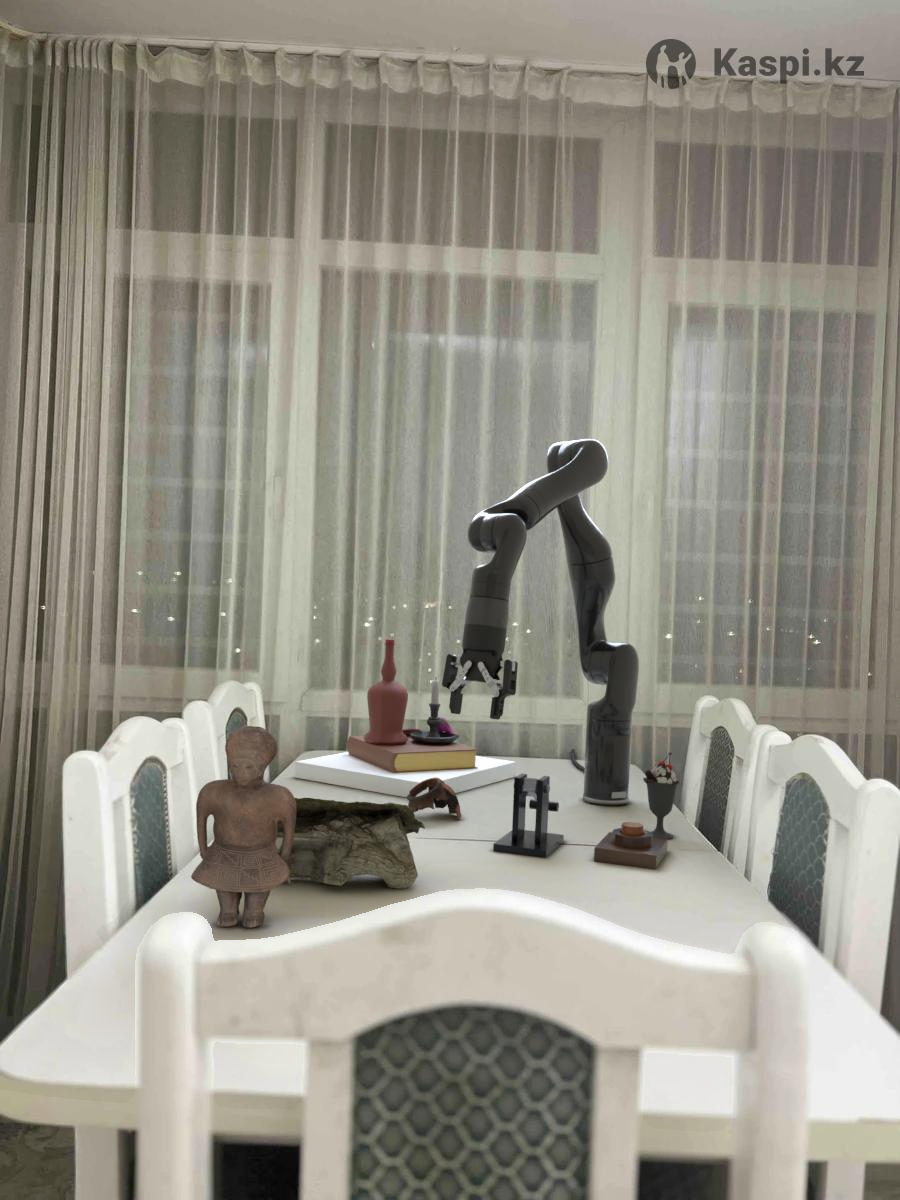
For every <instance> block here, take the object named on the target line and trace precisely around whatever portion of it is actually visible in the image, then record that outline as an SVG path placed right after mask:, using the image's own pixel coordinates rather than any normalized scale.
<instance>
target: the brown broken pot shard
mask: <svg viewBox="0 0 900 1200" xmlns="http://www.w3.org/2000/svg"><path fill="white" fill-rule="evenodd" d="M427 787H428V789H429V792H427V793H425V794H423V795H421V796H418V797H415V796H416V795H417V794H419V793H421V792H422V791H424V790H426V789H427ZM409 793H410V794H408V796H407V797H406V799H407V800H408V803H407V806H410V807H411V808H414V809H415V811H416V812H418V811H424V810H425V809H427V808H428V809H432V810H435V808H436V809H444V808H447V809H448V814H449V815H454V814H456V820H457V821H460V820H461V819H462V813H461V805H460V803H459V798H458V796H457V793H455V792H454V791H453V790H452V788H451V787H449V786H448V785H447V784H445V783H444V782H443V781H442V780H441V779H439V778H431V779H427V780H425V781H422V782H421V783H419V784H417V785H416V786H415V787H413V788H412V789H411V790H410V791H409Z"/></svg>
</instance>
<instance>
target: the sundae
mask: <svg viewBox="0 0 900 1200" xmlns="http://www.w3.org/2000/svg"><path fill="white" fill-rule="evenodd" d="M672 755H673V753H672V752H668V754H667V756H666V758H665V759H663V760H661V761H659V762H658V764H656V765H654V767H652V768H651V769H647V770H646V771H644V775H645V777H643V778H642V780H643V782H644V783H645V784H646V789H647V799H648V800H647V801H648V807H649V810H650V811H651V814H653V815H654V816H655V817H656V824H655V825H656V826H655V828H654V830H652V831H650V832H651V833H652V834H653V837H654V838H662V839H668V840H671V839H673V838H674V835H673V834H672V833H668V832H667V831H666V830H665V828H664V818H665V817H666V816H668V815H669V814H670V813H671V812H672V809H673V806H674V801H675V796H676V790H677V786H678V785H679V784H680V783H681V782H682V781H681V780H679V779H678V777H677V775H676V773H675V772H674V771H673V767H674V766H673V765H672V764H671V756H672ZM667 759H668V763H669V764H666V762H665V761H666V760H667Z"/></svg>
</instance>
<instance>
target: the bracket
mask: <svg viewBox="0 0 900 1200" xmlns="http://www.w3.org/2000/svg"><path fill="white" fill-rule="evenodd" d="M550 777H551V776H549V775H543V776H541V777H540V778H537V779H538V780H537V801H536V809H535V825H534V826H535V828H534V830H527V829H526V807H527V806H526V805H527V796H526V795H525V794H524V792H523V785H524V780H525V778H528V774H527V773H520V774H518V775H517V776H516V775H515V777H513V778H514V780H513V804H512V823H511V824H512V825H511V826H512V827H511V830H510V831H508V833H506V834H505V835H503V836H502V837H501V838H499V839H498V840H497V841H495V842H493V848H492V849H493V850H492V851H493V852H498V853H499V852H500V853H506V854H507V853H508V854H515V855H521V856H530V857H537V858H545V859H546V858H547V857H548V856H549V855H551V853H553V852H554V851H555V850H556V849H558V848H559V846H561V844H563V843H564V842H565V839H564V838H565V835H564V834H559V833H553V832H552V833H551V832H548V826H549V824H548V823H549V811H548V805H549V801H550V791H551V786H550V782H551V781H550V780H551V778H550Z"/></svg>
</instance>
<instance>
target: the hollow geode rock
mask: <svg viewBox="0 0 900 1200" xmlns="http://www.w3.org/2000/svg"><path fill="white" fill-rule="evenodd" d="M294 798H295V801H296V824H295V832H294V841H293V845H292V849H291V852H290V855H289V859H288V861H287V862H286V864H287V866H288V867H289V870H290V875H289V876H290V878H291V879H293V878H294V879H299V880H307V879H309V880H311V881H312V882H315V883H324V884H327V885H334V886H340V887H342V886H343V885H344V884H345V883H346V882H347V881H348V880H350V879H352V878H353V877H357V876H365V875H366V876H367V875H369V876H374V877H379V878H381V879H382V880H383V881H384V882H385V885H386V887H388V888H390V889H391V888H392V889H407V888H410V887H411V886H412V885H413V884H414V883H415V882H416V881H417V878H418V876H419V875H418V871H417V867H416V864H415V858H414V855H413V852H412V848H411V845H410V840H409V837H408V834H412V833H415V834H419V832H420V829H423V830H426V826H425V824H424V823H423V822H422V821H419V820H418V819H417V818H416V816H415V813H416V812H417V811H415V809H414V808H411V807H410V806H408V804H400V803H395V802H390V801H389V802H386V803H375V802H370V801H351V802H347V801H340V800H339V801H337V800H333V799H323V798H314V797H301V798H300V797H299V798H297V797H294ZM283 835H284V826H283V823H282V822H281V821H280V822H279V826H278V835H277V839H276V846H277V848H278V850H279V852H280V851H281V848H282V840H283Z"/></svg>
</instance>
